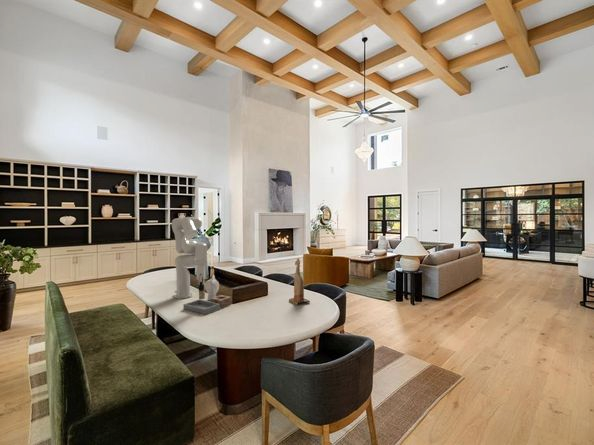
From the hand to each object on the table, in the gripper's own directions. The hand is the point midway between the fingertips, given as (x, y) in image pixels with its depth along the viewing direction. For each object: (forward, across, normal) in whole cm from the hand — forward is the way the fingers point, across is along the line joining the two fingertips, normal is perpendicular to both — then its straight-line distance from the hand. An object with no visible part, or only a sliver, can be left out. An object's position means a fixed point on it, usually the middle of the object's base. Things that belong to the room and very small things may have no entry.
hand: (201, 289), depth 191 cm
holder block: (+13, -7, +12) cm, 19 cm away
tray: (+13, 0, 0) cm, 13 cm away
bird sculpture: (+14, +1, +66) cm, 67 cm away
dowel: (+6, 0, 0) cm, 6 cm away
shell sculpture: (+13, -20, +6) cm, 25 cm away
